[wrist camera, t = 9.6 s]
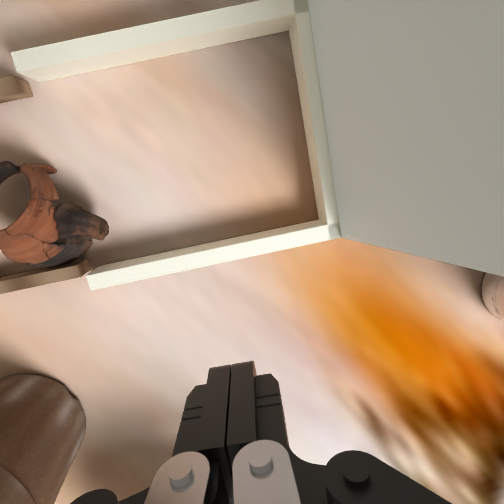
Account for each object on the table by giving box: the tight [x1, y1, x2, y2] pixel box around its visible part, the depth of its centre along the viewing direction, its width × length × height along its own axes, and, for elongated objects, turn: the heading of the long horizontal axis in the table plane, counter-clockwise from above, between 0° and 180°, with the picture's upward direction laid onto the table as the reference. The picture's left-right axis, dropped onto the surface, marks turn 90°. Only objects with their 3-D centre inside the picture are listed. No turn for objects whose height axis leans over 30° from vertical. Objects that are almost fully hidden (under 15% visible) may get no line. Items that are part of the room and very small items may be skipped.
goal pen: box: [0, 75, 91, 294], centre depth 33 cm, size 11×18×2 cm, turn 12°
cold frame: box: [10, 0, 504, 290], centre depth 20 cm, size 32×21×28 cm, turn 102°
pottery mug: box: [0, 161, 109, 266], centre depth 32 cm, size 12×10×8 cm
